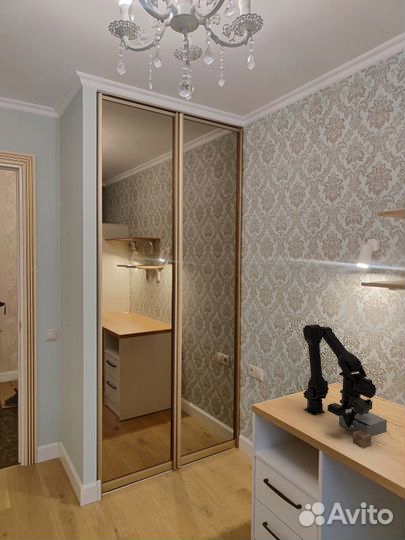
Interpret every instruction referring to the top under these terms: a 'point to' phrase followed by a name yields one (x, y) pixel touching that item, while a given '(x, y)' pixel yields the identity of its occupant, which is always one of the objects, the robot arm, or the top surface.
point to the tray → (352, 425)
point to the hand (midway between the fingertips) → (348, 427)
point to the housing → (372, 423)
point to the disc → (359, 422)
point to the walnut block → (362, 439)
